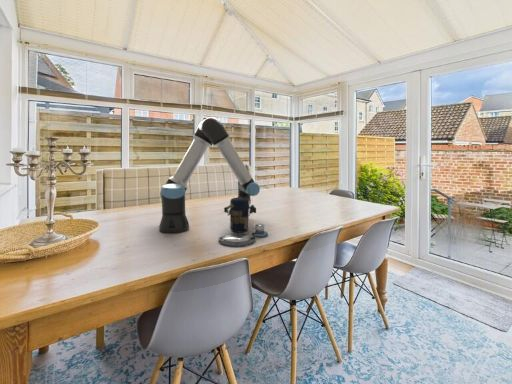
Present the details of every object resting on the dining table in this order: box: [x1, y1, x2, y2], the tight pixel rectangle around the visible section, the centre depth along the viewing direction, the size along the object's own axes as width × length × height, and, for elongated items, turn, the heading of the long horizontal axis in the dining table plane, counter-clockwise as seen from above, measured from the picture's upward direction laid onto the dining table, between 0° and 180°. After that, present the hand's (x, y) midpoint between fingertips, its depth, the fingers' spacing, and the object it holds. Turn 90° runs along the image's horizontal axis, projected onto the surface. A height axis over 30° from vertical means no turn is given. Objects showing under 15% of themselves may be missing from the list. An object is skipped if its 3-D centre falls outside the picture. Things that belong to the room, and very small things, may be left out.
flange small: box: [251, 223, 269, 239], centre depth 143 cm, size 8×8×5 cm
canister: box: [229, 196, 250, 233], centre depth 149 cm, size 10×10×18 cm
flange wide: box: [217, 232, 256, 248], centre depth 134 cm, size 17×17×2 cm
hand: (238, 213), depth 146 cm, fingers closed on canister, 10 cm apart
